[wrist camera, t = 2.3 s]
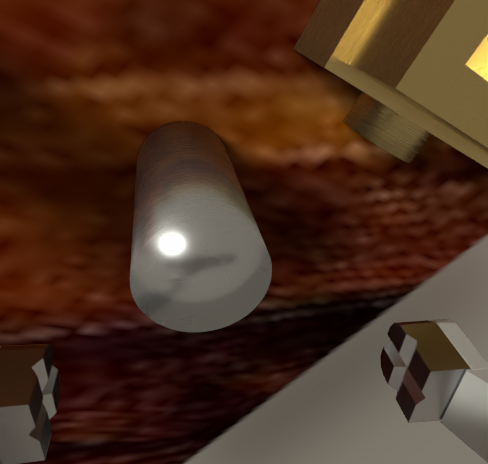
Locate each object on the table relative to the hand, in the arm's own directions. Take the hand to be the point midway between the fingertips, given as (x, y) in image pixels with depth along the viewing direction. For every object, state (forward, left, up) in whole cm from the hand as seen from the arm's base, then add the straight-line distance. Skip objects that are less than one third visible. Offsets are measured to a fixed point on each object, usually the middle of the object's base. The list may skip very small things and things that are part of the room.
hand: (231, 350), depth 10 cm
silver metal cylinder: (-1, 0, -12) cm, 12 cm away
